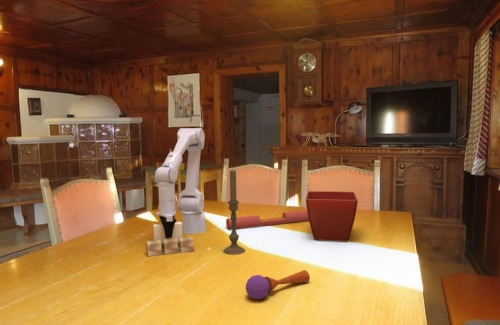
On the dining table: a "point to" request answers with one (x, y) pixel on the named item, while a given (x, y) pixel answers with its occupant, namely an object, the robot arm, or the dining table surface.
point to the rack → (163, 250)
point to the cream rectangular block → (160, 233)
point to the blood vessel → (268, 220)
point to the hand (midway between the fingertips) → (168, 236)
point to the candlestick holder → (233, 218)
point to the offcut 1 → (154, 247)
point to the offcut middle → (170, 246)
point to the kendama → (271, 283)
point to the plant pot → (331, 214)
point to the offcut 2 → (186, 244)
